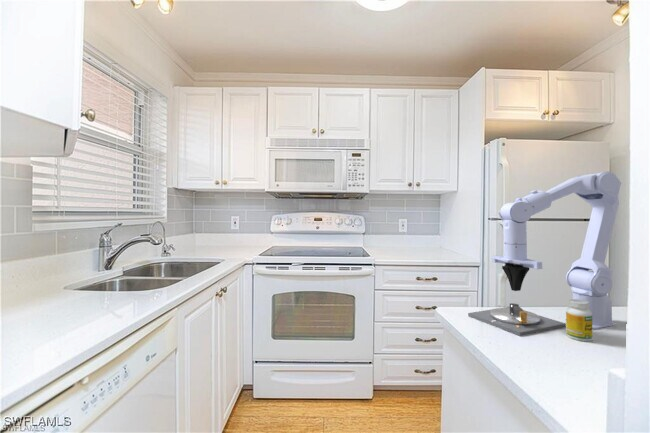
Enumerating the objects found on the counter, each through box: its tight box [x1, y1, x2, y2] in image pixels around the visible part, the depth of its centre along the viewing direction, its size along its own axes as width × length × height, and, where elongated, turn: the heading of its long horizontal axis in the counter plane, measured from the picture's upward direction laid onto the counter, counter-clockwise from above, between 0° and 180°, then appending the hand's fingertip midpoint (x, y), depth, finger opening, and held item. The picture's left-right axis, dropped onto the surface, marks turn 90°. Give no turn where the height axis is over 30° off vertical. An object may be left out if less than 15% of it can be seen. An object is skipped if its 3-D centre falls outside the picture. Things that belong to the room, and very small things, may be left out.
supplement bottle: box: [565, 298, 594, 342], centre depth 83 cm, size 5×5×10 cm
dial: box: [490, 303, 540, 325], centre depth 95 cm, size 14×13×4 cm
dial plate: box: [467, 306, 566, 337], centre depth 96 cm, size 18×18×1 cm
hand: (515, 290), depth 92 cm, fingers closed
